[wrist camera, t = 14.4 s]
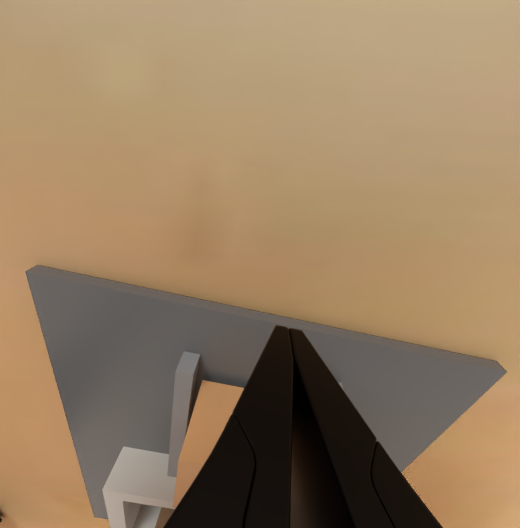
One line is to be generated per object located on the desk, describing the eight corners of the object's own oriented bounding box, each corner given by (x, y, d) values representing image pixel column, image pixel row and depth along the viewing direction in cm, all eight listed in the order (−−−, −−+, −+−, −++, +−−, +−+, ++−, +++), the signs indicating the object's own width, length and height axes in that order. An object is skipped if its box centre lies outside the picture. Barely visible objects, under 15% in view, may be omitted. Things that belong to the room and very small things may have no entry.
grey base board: (315, 544, 22) (320, 590, 19) (98, 508, 21) (76, 553, 18) (497, 361, 10) (557, 423, 8) (37, 265, 9) (-37, 305, 7)
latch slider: (288, 446, 13) (291, 527, 10) (194, 429, 13) (172, 507, 10) (312, 400, 11) (323, 485, 8) (202, 379, 11) (178, 460, 8)
